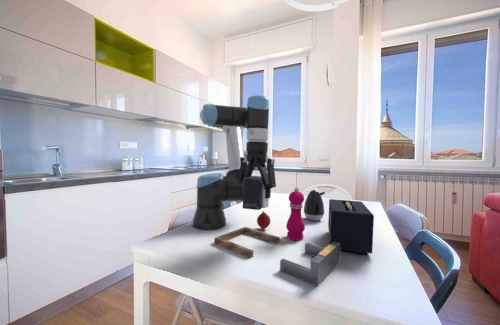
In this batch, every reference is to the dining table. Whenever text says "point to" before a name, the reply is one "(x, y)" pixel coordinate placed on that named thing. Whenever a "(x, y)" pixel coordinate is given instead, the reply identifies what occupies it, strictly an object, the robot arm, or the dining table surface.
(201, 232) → the dining table surface
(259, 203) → the small box
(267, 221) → the onion
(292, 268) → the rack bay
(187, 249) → the dining table surface
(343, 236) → the black toaster
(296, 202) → the pepper mill
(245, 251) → the holder
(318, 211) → the pump dispenser
